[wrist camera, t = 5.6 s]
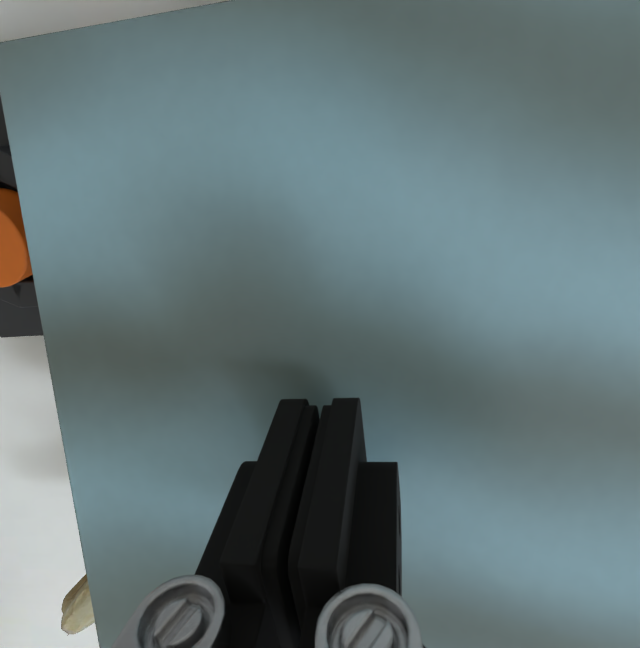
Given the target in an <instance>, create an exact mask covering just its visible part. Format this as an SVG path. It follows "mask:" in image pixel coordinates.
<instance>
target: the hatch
mask: <svg viewBox="0 0 640 648" xmlns="http://www.w3.org/2000/svg"><path fill="white" fill-rule="evenodd" d="M0 95H1V101H2V106H3V112H4V117H5V123H6V129H7V134H8V140H9V145H10V151H11V156H12V162H13V168H14V173H15V179H16V184H17V190H18V195H19V201H20V207H21V212H22V218H23V223H24V229H25V234H26V240H27V246H28V251H29V257H30V262H31V268H32V273H33V279H34V285H35V290H36V296H37V301H38V307H39V312H40V318H41V324H42V329H43V335H44V340H45V346H46V351H47V357H48V363H49V368H50V374H51V379H52V385H53V390H54V396H55V402H56V407H57V413H58V418H59V424H60V429H61V435H62V441H63V446H64V452H65V457H66V463H67V468H68V474H69V480H70V485H71V491H72V496H73V502H74V507H75V513H76V519H77V524H78V530H79V535H80V541H81V546H82V552H83V558H84V563H85V569H86V574H87V580H88V585H89V591H90V597H91V602H92V608H93V613H94V619H95V624H96V630H97V636H98V641H99V647H100V648H111V646H112V645H113V643H114V642H115V640H116V639H117V637H118V636H119V634H120V633H121V631H122V629H123V628H124V626H125V625H126V623H127V622H128V620H129V619H130V617H131V616H132V614H133V613H134V611H135V609H136V608H137V607H138V605H139V604H140V603H141V602H142V601H143V599H144V598H145V597H146V596H147V595H148V594H149V593H150V592H151V591H153V590H154V589H155V588H156V587H158V586H159V585H160V584H162V583H164V582H166V581H168V580H170V579H172V578H175V577H179V576H183V575H194V574H195V572H196V570H197V567H198V565H199V562H200V560H201V558H202V555H203V553H204V551H205V548H206V546H207V543H208V541H209V539H210V536H211V534H212V531H213V529H214V527H215V524H216V522H217V519H218V517H219V515H220V512H221V510H222V507H223V505H224V503H225V500H226V498H227V495H228V493H229V491H230V488H231V486H232V483H233V481H234V479H235V476H236V474H237V471H238V469H239V467H240V466H241V464H242V463H243V462H244V461H257V460H258V457H259V454H260V452H261V449H262V446H263V444H264V441H265V439H266V436H267V433H268V431H269V428H270V425H271V423H272V420H273V417H274V415H275V412H276V409H277V407H278V404H279V402H280V400H281V399H307V400H308V402H309V405H316V406H317V408H318V412H319V418H320V416H321V412H322V408H323V406H324V405H331V404H332V400H333V398H360V402H361V411H362V420H363V429H364V439H365V448H366V457H367V462H398V470H399V484H400V500H401V531H402V597H403V598H404V599H405V600H406V602H407V603H408V604H409V606H410V607H411V608H412V610H413V611H414V614H415V617H416V619H417V622H418V625H419V629H420V634H421V640H422V644H423V645H424V646H425V647H426V648H640V0H231V1H225V2H220V3H214V4H209V5H203V6H198V7H192V8H187V9H181V10H176V11H170V12H165V13H159V14H154V15H148V16H143V17H137V18H132V19H126V20H121V21H115V22H110V23H104V24H99V25H93V26H88V27H82V28H77V29H71V30H66V31H60V32H55V33H49V34H44V35H38V36H33V37H27V38H22V39H16V40H11V41H5V42H0Z"/></svg>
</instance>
